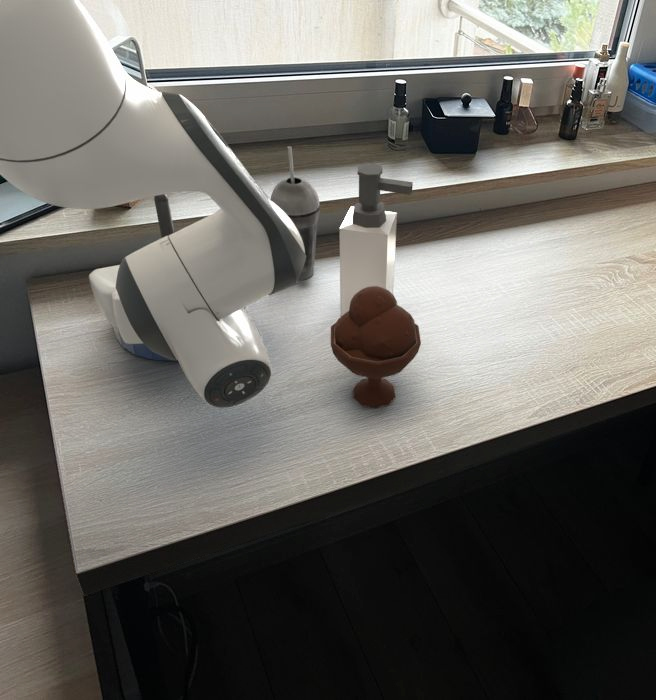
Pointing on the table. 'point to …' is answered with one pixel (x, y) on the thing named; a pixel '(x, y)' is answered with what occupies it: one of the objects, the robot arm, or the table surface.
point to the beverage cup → (300, 212)
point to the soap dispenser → (369, 236)
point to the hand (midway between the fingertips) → (168, 247)
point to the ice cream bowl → (375, 343)
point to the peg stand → (164, 215)
